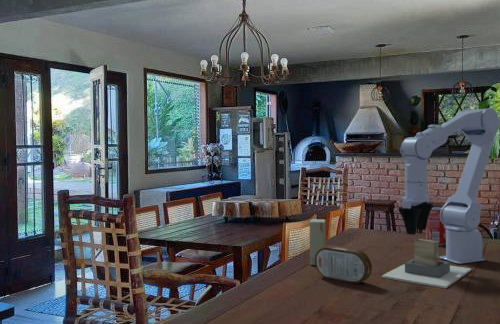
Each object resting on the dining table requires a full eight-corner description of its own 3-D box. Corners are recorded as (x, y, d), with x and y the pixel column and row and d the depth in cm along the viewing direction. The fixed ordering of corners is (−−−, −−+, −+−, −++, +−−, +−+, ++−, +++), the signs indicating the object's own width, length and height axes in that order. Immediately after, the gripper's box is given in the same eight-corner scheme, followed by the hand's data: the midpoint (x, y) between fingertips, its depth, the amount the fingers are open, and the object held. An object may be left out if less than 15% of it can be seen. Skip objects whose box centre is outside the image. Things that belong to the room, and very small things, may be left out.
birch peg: (419, 268, 135) (419, 239, 135) (438, 271, 132) (438, 241, 131) (414, 271, 132) (414, 241, 132) (433, 274, 129) (433, 243, 129)
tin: (372, 284, 124) (372, 249, 123) (366, 287, 121) (366, 252, 121) (319, 274, 133) (319, 242, 133) (313, 277, 131) (312, 244, 131)
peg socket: (412, 261, 145) (412, 251, 144) (471, 270, 134) (471, 259, 134) (381, 277, 129) (381, 265, 129) (445, 288, 119) (445, 275, 119)
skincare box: (325, 266, 142) (324, 222, 141) (309, 265, 143) (309, 222, 142) (326, 260, 148) (326, 218, 147) (311, 260, 149) (311, 218, 148)
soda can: (424, 244, 166) (424, 208, 166) (428, 241, 172) (428, 206, 171) (444, 246, 163) (444, 209, 163) (448, 243, 169) (448, 207, 168)
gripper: (411, 179, 145) (411, 226, 146) (391, 183, 134) (391, 234, 134) (436, 179, 141) (436, 228, 141) (417, 184, 129) (417, 237, 130)
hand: (416, 231), depth 138 cm, fingers open, 7 cm apart
